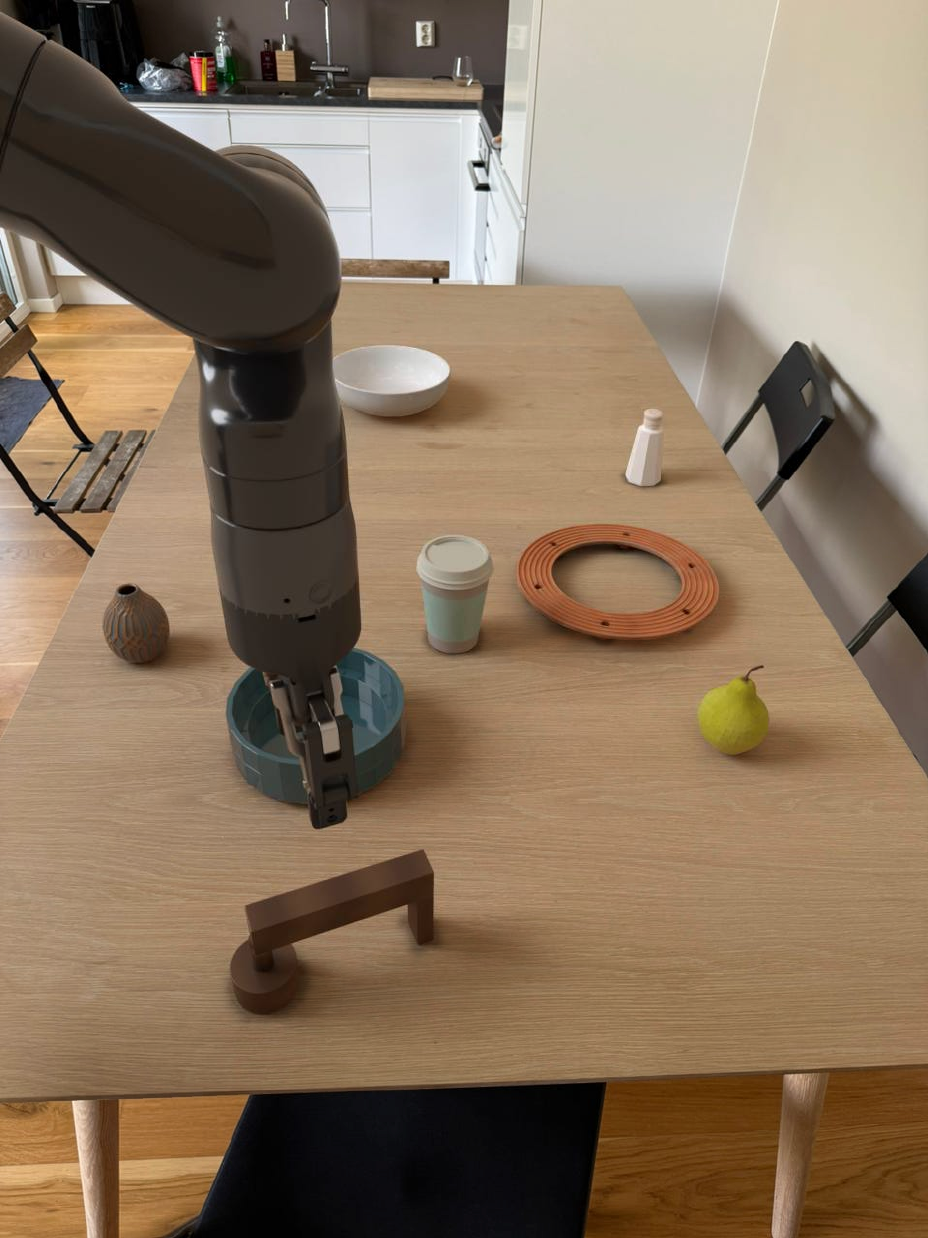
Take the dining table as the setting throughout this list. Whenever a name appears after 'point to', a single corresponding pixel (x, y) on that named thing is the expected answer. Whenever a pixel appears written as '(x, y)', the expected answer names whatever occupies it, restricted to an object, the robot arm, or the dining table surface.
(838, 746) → the dining table surface
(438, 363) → the serving bowl
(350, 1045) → the dining table surface
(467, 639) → the coffee cup
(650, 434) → the pepper shaker
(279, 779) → the mixing bowl
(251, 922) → the brown wooden bracket
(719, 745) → the fruit
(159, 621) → the vase
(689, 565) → the ring
